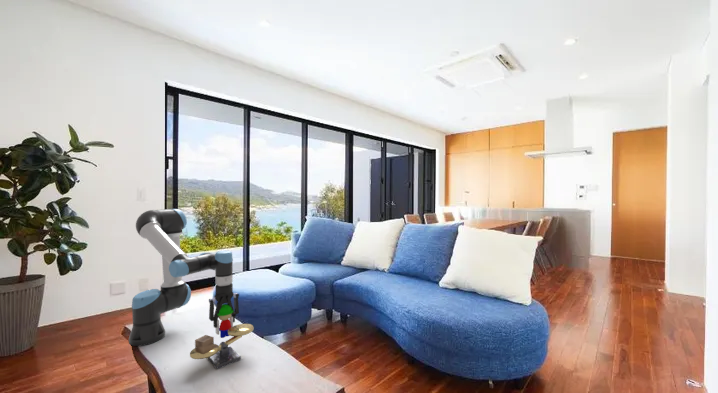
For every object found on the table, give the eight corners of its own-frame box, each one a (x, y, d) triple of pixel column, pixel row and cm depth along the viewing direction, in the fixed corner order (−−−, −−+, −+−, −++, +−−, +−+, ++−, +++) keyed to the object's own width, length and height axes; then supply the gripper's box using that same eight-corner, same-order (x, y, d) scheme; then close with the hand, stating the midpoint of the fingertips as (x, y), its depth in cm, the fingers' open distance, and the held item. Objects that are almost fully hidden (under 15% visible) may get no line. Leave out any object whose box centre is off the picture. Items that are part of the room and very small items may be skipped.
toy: (229, 329, 153) (229, 300, 153) (236, 335, 148) (235, 304, 147) (213, 335, 148) (213, 304, 147) (219, 341, 142) (219, 309, 142)
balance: (186, 365, 131) (186, 340, 130) (247, 343, 149) (247, 321, 148) (195, 377, 122) (194, 350, 122) (258, 352, 140) (258, 329, 140)
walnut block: (195, 351, 129) (195, 339, 129) (206, 346, 133) (205, 334, 133) (203, 354, 126) (203, 342, 126) (213, 348, 131) (213, 337, 131)
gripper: (205, 290, 138) (206, 340, 138) (246, 281, 150) (246, 328, 151) (200, 286, 143) (200, 335, 144) (240, 278, 156) (240, 323, 157)
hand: (224, 331), depth 148 cm, fingers closed on toy, 6 cm apart
